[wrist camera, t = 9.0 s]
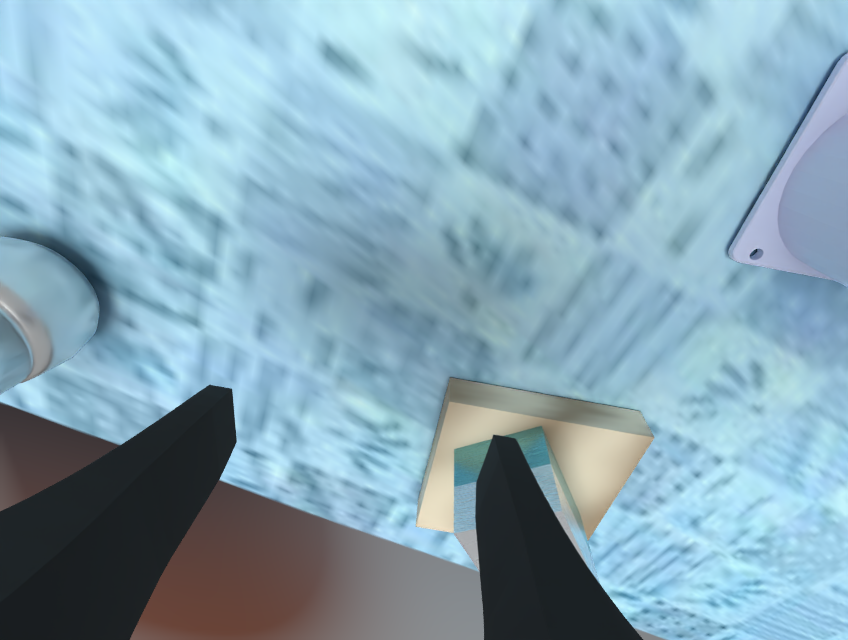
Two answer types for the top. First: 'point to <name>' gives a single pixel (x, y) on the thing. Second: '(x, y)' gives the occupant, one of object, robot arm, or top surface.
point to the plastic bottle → (41, 310)
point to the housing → (547, 477)
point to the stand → (565, 430)
